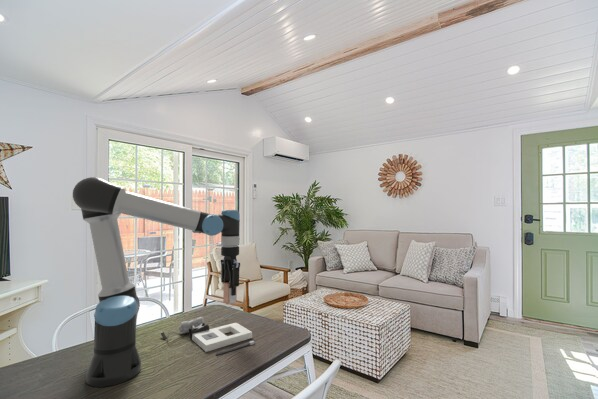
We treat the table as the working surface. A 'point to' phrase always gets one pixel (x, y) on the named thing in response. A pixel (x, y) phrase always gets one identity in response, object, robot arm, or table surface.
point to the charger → (227, 293)
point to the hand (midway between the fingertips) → (229, 301)
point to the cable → (236, 347)
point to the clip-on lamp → (190, 327)
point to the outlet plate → (221, 336)
